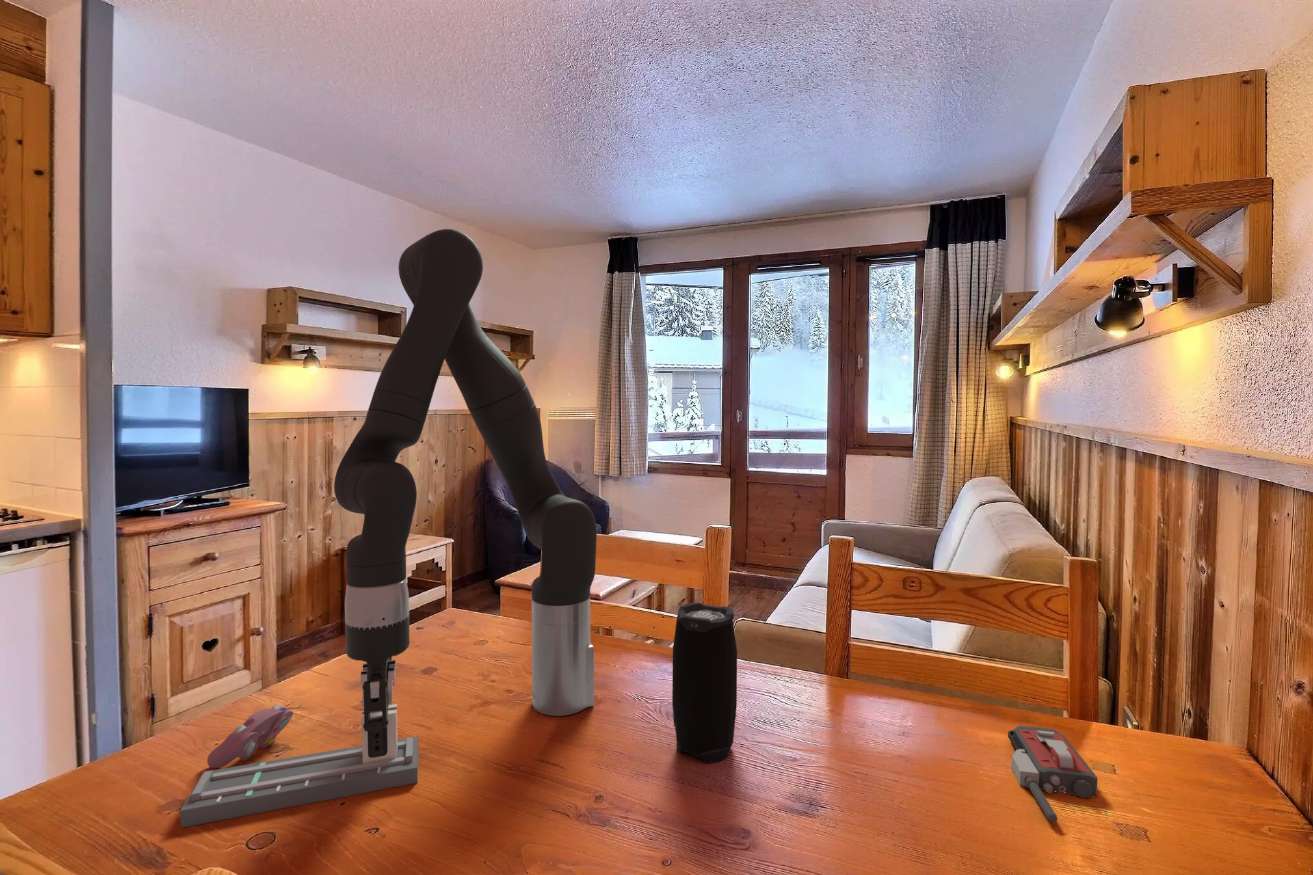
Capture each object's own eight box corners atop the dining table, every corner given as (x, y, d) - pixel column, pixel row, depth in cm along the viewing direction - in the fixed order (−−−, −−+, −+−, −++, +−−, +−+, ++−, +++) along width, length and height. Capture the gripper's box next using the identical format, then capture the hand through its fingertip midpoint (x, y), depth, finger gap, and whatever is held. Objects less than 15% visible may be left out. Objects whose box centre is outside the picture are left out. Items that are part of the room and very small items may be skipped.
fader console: (418, 750, 87) (417, 730, 87) (417, 782, 80) (417, 761, 80) (204, 787, 79) (203, 765, 78) (180, 827, 71) (180, 803, 71)
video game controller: (227, 784, 82) (246, 740, 81) (200, 765, 82) (219, 721, 82) (286, 744, 91) (304, 704, 90) (261, 728, 92) (279, 688, 91)
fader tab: (398, 747, 84) (397, 702, 83) (397, 757, 81) (396, 711, 81) (364, 753, 82) (363, 707, 82) (362, 764, 80) (361, 716, 80)
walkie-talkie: (991, 739, 91) (1042, 829, 72) (992, 709, 91) (1043, 792, 71) (1059, 747, 89) (1131, 842, 70) (1061, 716, 89) (1132, 803, 69)
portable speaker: (744, 739, 90) (746, 605, 89) (720, 773, 82) (722, 625, 81) (689, 725, 94) (690, 596, 93) (661, 756, 86) (662, 615, 85)
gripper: (407, 630, 75) (409, 763, 76) (410, 596, 89) (412, 709, 90) (337, 637, 73) (341, 775, 74) (351, 601, 86) (354, 718, 87)
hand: (380, 739), depth 82 cm, fingers open, 7 cm apart
